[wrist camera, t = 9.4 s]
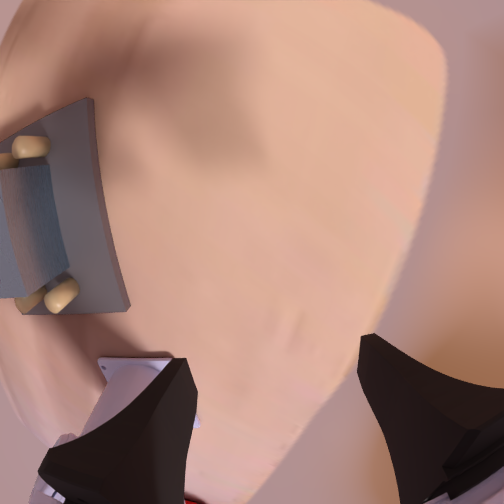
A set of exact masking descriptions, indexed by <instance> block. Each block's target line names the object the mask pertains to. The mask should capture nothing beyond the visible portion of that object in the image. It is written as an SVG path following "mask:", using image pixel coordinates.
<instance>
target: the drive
mask: <svg viewBox="0 0 504 504" xmlns="http://www.w3.org/2000/svg"><path fill="white" fill-rule="evenodd" d="M69 267H70V264H69V261H68V257H67V254H66V250H65V246H64V242H63V238H62V233H61V229H60V225H59V220H58V215H57V210H56V204H55V199H54V193H53V186H52V179H51V172H50V165H39V166H29V167H19V168H11V169H3V170H0V298H16V297H28V296H30V295H31V294H32V293H34V292H35V291H36V290H38V289H39V288H41V287H42V286H43V285H45V284H46V283H48V282H49V281H50V280H52V279H53V278H55V277H56V276H58V275H59V274H61V273H62V272H63V271H65V270H66V269H68V268H69Z"/></svg>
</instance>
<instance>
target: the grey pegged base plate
mask: <svg viewBox="0 0 504 504" xmlns="http://www.w3.org/2000/svg"><path fill="white" fill-rule="evenodd" d="M39 165H50V172H51V179H52V186H53V193H54V199H55V204H56V210H57V215H58V220H59V225H60V229H61V233H62V238H63V242H64V246H65V250H66V254H67V257H68V261H69V264H70V267H69V268H68V269H66V270H65V271H63V272H62V273H61V274H59V275H58V276H56V277H55V278H53V279H52V280H50V281H49V282H48V283H46V284H45V285H43V286H42V287H41V288H39V289H38V290H36V291H35V292H34V293H32V294H31V295H30V296H28V297H16V298H15V304H16V307H17V308H18V310H19V311H20V312H21V313H22V315H52V314H90V313H113V312H126V311H127V310H128V309H129V308H130V306H131V305H130V301H129V298H128V295H127V292H126V288H125V285H124V281H123V278H122V274H121V271H120V267H119V263H118V259H117V255H116V251H115V247H114V243H113V239H112V234H111V230H110V225H109V220H108V215H107V210H106V205H105V199H104V194H103V188H102V181H101V175H100V167H99V160H98V151H97V142H96V131H95V118H94V100H93V99H90V98H84V99H82V100H79V101H77V102H75V103H73V104H70V105H68V106H66V107H64V108H62V109H60V110H57V111H55V112H53V113H51V114H49V115H47V116H45V117H44V118H42V119H40V120H38V121H36V122H34V123H32V124H31V125H29V126H27V127H25V128H24V129H22V130H20V131H18V132H17V133H15V134H13V135H12V136H10V137H9V138H7V139H5V140H4V141H2V142H1V143H0V170H3V169H11V168H19V167H29V166H39Z"/></svg>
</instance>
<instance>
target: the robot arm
mask: <svg viewBox="0 0 504 504" xmlns="http://www.w3.org/2000/svg"><path fill="white" fill-rule="evenodd" d="M97 362H98V365H99V367H100V369H101V371H102V373H103V375H104V376H105V378H106V380H107V382H108V383H107V385H106V387H105V389H104V391H103V392H102V394H101V396H100V398H99V400H98V402H97V404H96V405H95V407H94V409H93V411H92V413H91V415H90V417H89V419H88V421H87V423H86V425H85V427H84V428H83V430H82V432H81V434H80V436H79V437H77V436H75V435H74V434H72V433H70V434H64V435H61V436H60V437H59V439H58V440H57V442H56V443H55V445H54V446H53V448H49V450H48V452H47V454H46V456H45V458H44V459H43V461H42V463H41V466H40V467H39V469H38V477H37V479H36V482H35V485H34V488H33V490H32V493H31V495H30V499H29V504H186V503H185V500H184V486H185V469H186V459H187V453H188V448H189V444H190V439H191V435H192V430H193V428H199V427H200V421H199V419H198V417H197V414H196V410H197V396H198V391H197V388H196V386H195V383H194V380H193V377H192V374H191V371H190V368H189V365H188V362H187V359H186V358H106V357H100V358H99V359H98V361H97ZM104 366H105V367H104ZM357 373H358V377H359V380H360V383H361V386H362V389H363V392H364V394H365V396H366V398H367V400H368V402H369V404H370V406H371V408H372V411H373V412H374V414H375V416H376V419H377V420H378V423H379V425H380V427H381V429H382V432H383V434H384V437H385V440H386V443H387V446H388V449H389V452H390V456H391V460H392V463H393V467H394V471H395V476H396V480H397V485H398V491H399V497H400V504H504V389H502V388H491V387H486V386H480V385H476V384H472V383H468V382H464V381H461V380H458V379H455V378H452V377H449V376H447V375H445V374H442V373H440V372H438V371H435V370H433V369H431V368H429V367H427V366H426V365H424V364H422V363H420V362H418V361H416V360H415V359H413V358H411V357H410V356H408V355H407V354H405V353H403V352H402V351H400V350H398V349H397V348H396V347H394V346H393V345H391V344H390V343H388V342H387V341H385V340H384V339H382V338H381V337H379V336H378V335H376V334H375V333H373V334H368V335H364V336H361V340H360V351H359V360H358V368H357Z"/></svg>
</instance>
